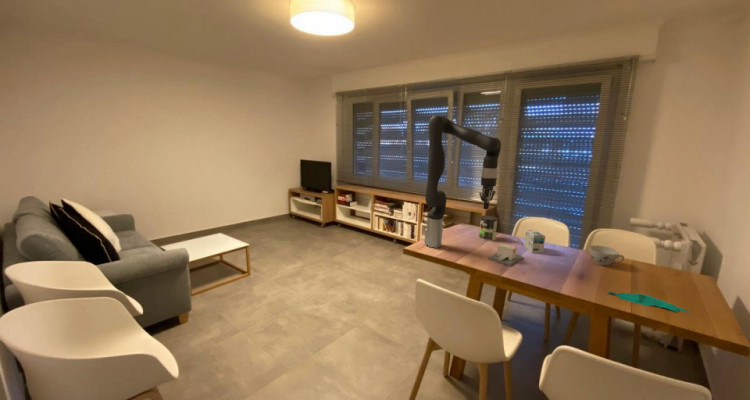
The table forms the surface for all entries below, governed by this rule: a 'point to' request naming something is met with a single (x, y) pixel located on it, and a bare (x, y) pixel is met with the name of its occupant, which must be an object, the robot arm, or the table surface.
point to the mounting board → (506, 260)
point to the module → (507, 251)
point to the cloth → (648, 301)
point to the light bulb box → (534, 241)
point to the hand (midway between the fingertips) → (485, 209)
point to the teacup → (604, 255)
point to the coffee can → (488, 228)
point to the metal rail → (502, 258)
